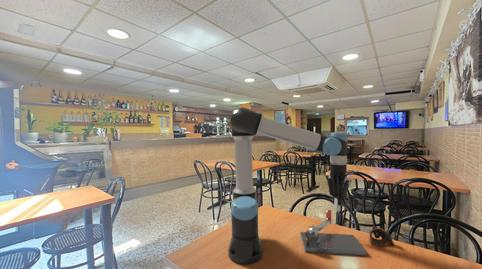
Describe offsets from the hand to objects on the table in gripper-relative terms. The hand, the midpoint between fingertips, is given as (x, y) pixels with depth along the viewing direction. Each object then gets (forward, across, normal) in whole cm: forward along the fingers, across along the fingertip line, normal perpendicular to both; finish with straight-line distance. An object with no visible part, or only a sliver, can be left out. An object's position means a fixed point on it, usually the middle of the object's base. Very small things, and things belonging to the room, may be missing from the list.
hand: (337, 210), depth 103 cm
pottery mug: (+13, -14, -12) cm, 23 cm away
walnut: (+12, +1, +19) cm, 22 cm away
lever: (+11, +3, +9) cm, 14 cm away
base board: (+13, -3, +9) cm, 16 cm away
